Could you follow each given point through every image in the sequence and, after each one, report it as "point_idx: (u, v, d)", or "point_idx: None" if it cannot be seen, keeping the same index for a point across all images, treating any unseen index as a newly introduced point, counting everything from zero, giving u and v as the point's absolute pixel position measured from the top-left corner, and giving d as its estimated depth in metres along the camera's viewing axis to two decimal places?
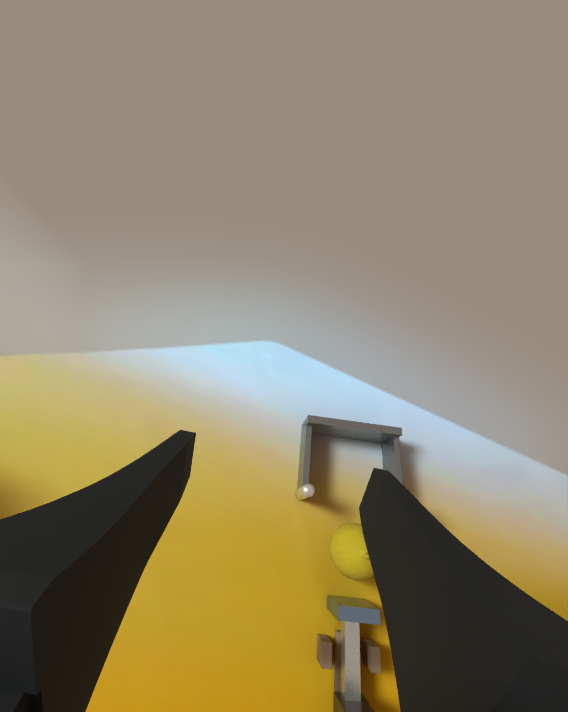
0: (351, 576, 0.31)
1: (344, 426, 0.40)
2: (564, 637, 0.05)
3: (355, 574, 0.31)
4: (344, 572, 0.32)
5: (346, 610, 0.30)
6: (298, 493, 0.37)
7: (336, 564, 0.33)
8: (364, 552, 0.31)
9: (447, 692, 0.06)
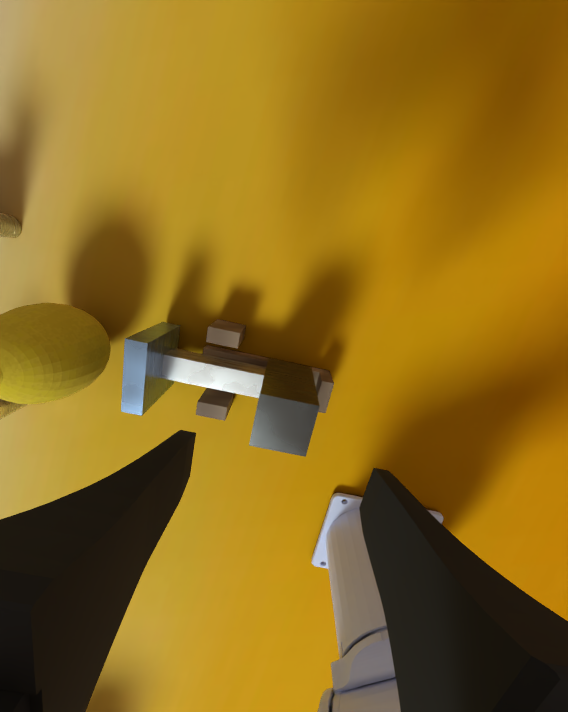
0: (70, 385, 0.16)
1: None
2: (564, 637, 0.05)
3: (52, 386, 0.15)
4: (71, 391, 0.17)
5: (127, 399, 0.17)
6: None
7: None
8: None
9: (447, 692, 0.06)
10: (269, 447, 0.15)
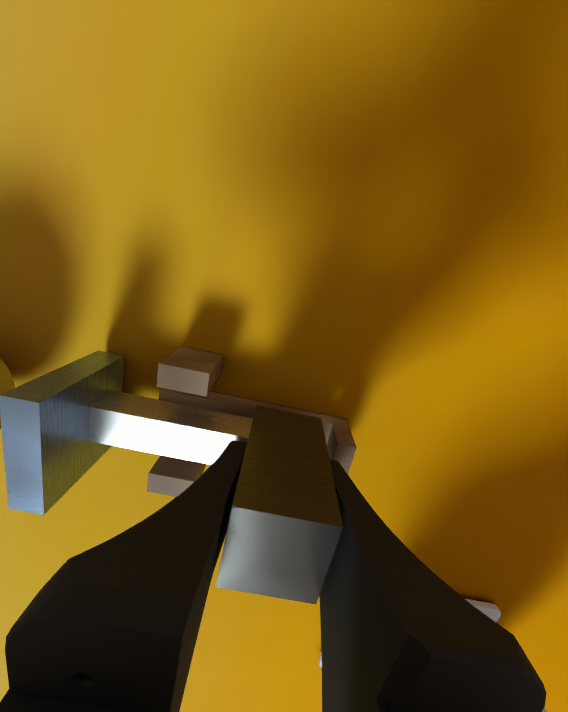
0: None
1: None
2: (457, 618, 0.05)
3: None
4: None
5: (17, 491, 0.10)
6: None
7: None
8: None
9: (352, 676, 0.06)
10: (252, 590, 0.09)
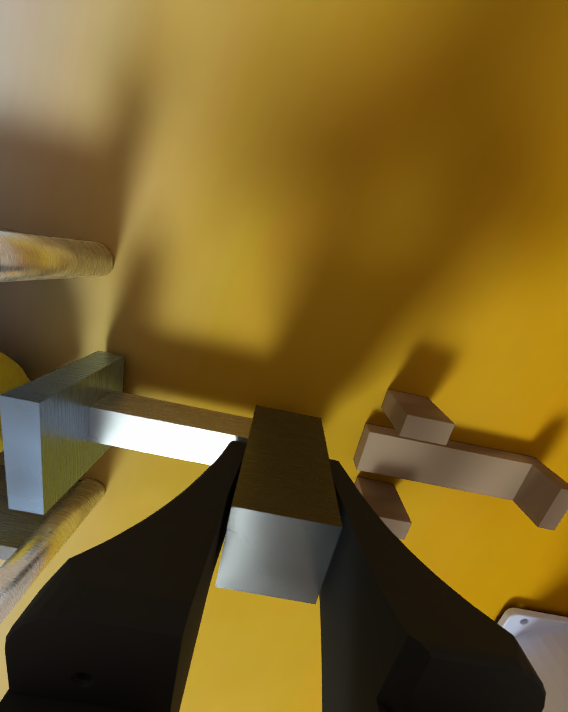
0: None
1: None
2: (457, 618, 0.05)
3: None
4: None
5: (17, 491, 0.10)
6: None
7: None
8: None
9: (352, 676, 0.06)
10: (251, 590, 0.09)
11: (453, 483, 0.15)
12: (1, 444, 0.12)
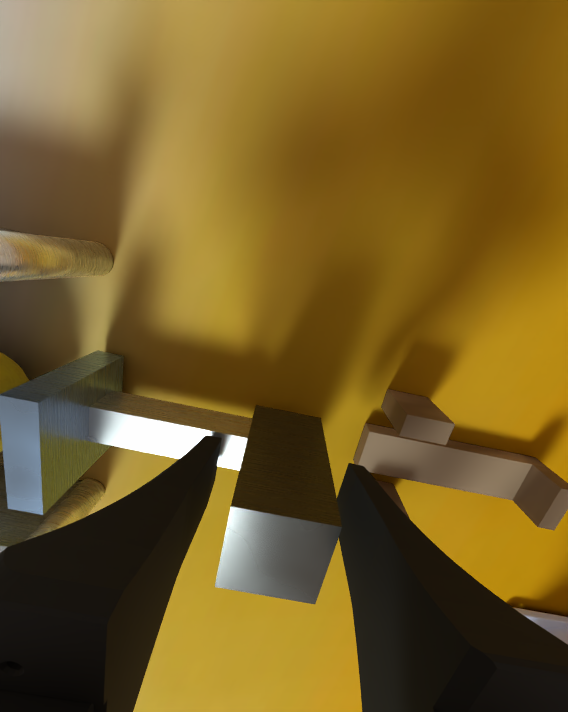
0: None
1: None
2: (511, 628, 0.05)
3: None
4: None
5: (16, 491, 0.10)
6: None
7: None
8: None
9: (400, 684, 0.06)
10: (251, 590, 0.09)
11: (453, 483, 0.15)
12: (0, 444, 0.12)
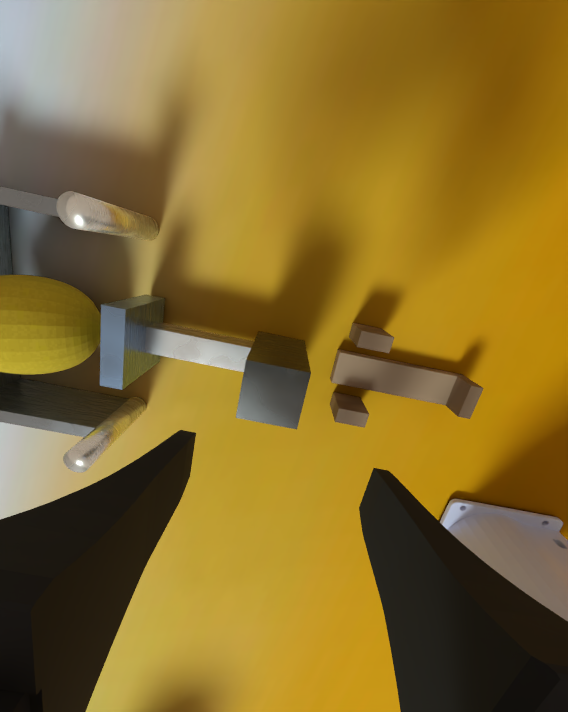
0: None
1: None
2: (564, 637, 0.05)
3: None
4: None
5: (106, 372, 0.16)
6: None
7: (18, 373, 0.16)
8: None
9: (447, 692, 0.06)
10: (257, 419, 0.14)
11: (401, 392, 0.20)
12: (87, 352, 0.17)
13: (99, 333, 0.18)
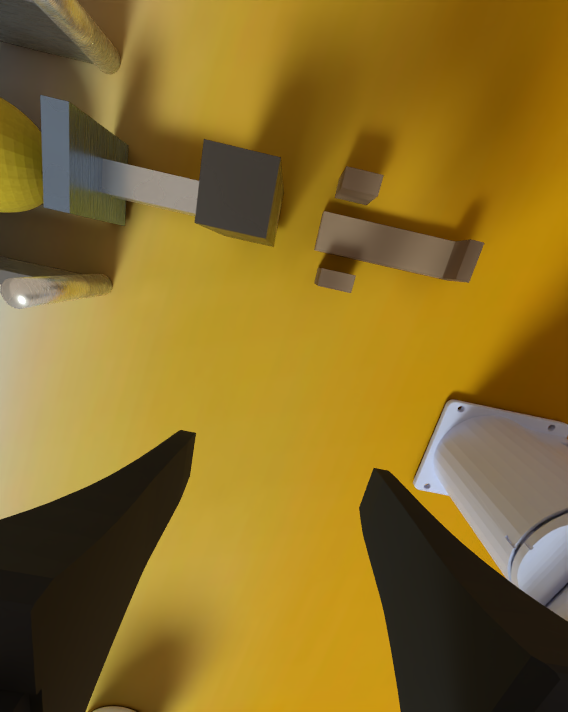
0: None
1: None
2: (564, 637, 0.05)
3: None
4: None
5: (50, 189, 0.14)
6: None
7: None
8: None
9: (447, 692, 0.06)
10: (220, 225, 0.12)
11: (393, 262, 0.18)
12: (35, 185, 0.15)
13: None
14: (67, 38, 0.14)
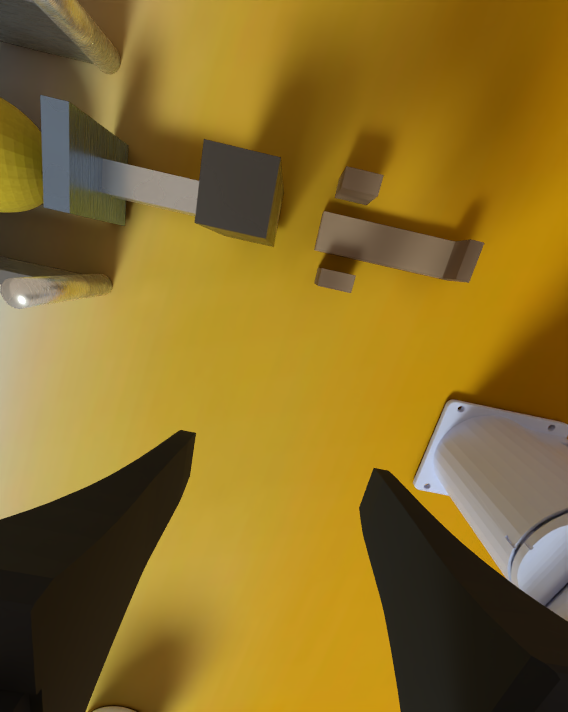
0: None
1: None
2: (564, 637, 0.05)
3: None
4: None
5: (50, 189, 0.14)
6: None
7: None
8: None
9: (447, 692, 0.06)
10: (220, 225, 0.12)
11: (393, 262, 0.18)
12: (35, 185, 0.15)
13: None
14: (67, 38, 0.14)
